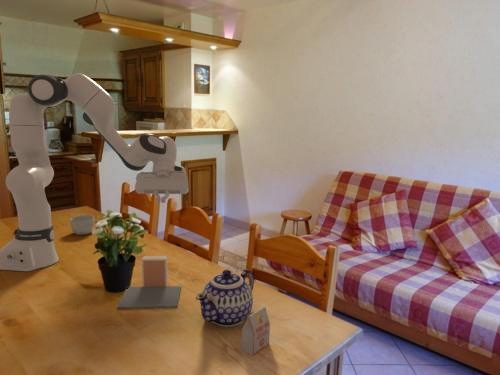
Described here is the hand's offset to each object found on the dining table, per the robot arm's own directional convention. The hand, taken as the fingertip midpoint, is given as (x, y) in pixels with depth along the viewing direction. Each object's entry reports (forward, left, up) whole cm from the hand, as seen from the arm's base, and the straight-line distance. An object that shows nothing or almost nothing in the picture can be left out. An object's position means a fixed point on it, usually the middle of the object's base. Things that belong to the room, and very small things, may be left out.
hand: (160, 202), depth 148 cm
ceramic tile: (0, -17, -25) cm, 31 cm away
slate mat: (0, -27, -25) cm, 37 cm away
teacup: (-43, +44, -26) cm, 66 cm away
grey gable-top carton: (+31, -55, -26) cm, 68 cm away
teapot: (+24, -40, -26) cm, 53 cm away
